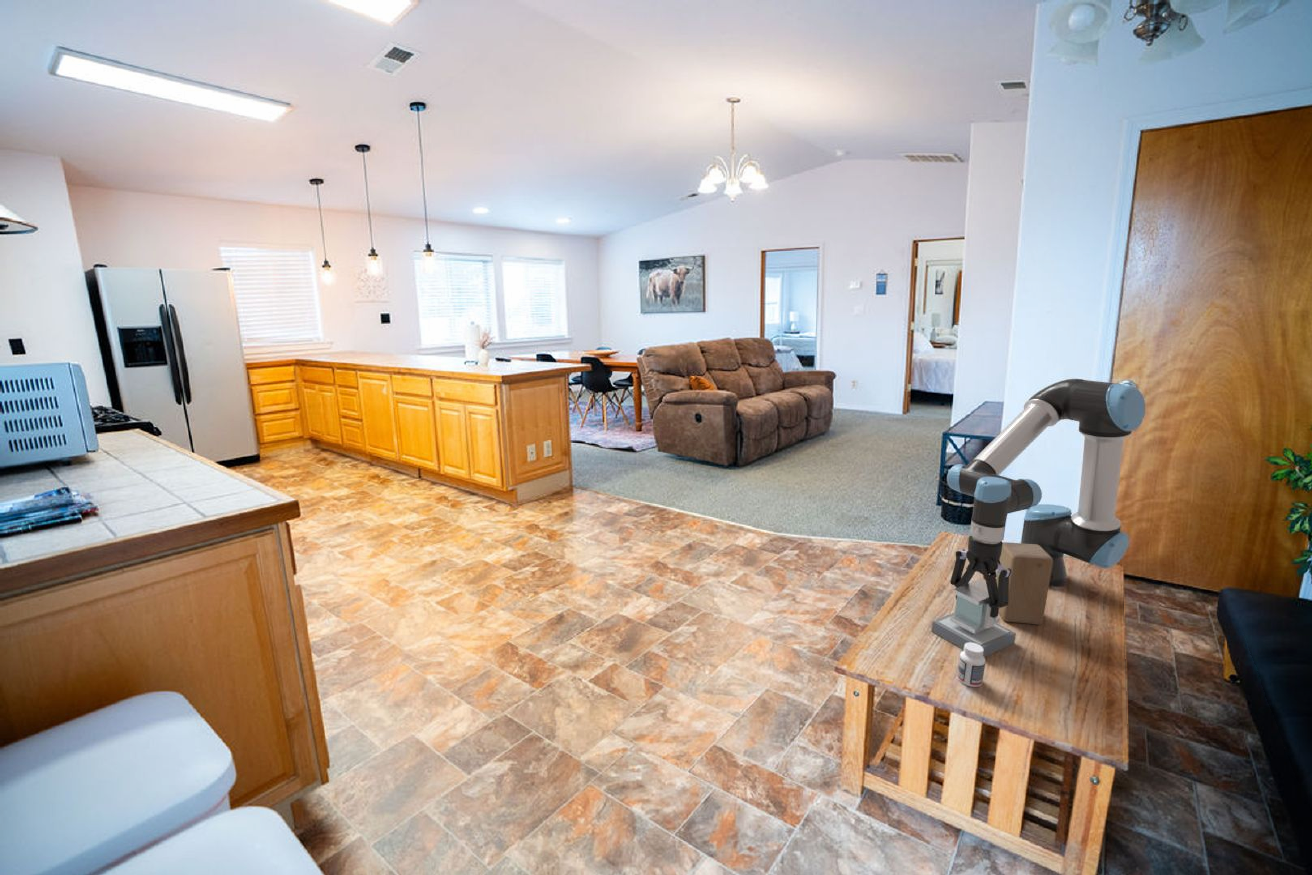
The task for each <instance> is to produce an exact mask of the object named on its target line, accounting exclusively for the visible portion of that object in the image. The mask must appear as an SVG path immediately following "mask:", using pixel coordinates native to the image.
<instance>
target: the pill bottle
mask: <svg viewBox="0 0 1312 875" xmlns="http://www.w3.org/2000/svg"><path fill="white" fill-rule="evenodd" d="M983 651H984V649H983V647H982V646H980V645H978V644H976V643H971V642H969V643H965V645H964V650H963V651H961V652H960V654H959V662H958V669H957V679H958V681H959V682H960V683H961V684H963V685H965V686H968V687H971V688H978V687H980V686H982V685H983V682H984V677H985V676H984V675H985V667H986V658H985V657H983Z"/></svg>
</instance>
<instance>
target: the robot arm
mask: <svg viewBox="0 0 1312 875" xmlns="http://www.w3.org/2000/svg"><path fill="white" fill-rule="evenodd" d="M1145 413H1146V400H1145V397H1144V396H1143V393H1142V392H1141V391H1140V389H1138V388H1137V387H1135V386H1132V385H1126V384H1123V383H1118V382H1117V383H1114V382H1106V381H1098V380H1096V381H1095V380H1089V379H1088V380H1087V379H1082V378H1081V379H1080V378H1070V379H1063V380H1060V381H1057V382H1055V383H1052V384H1050V385H1048V386H1046V387H1044V388H1043V389H1041V390H1039V391H1038V392H1036V393H1034V394H1033V395H1032V396H1031V397H1030V398H1029V399H1028V400H1027V401H1026V402H1025V403H1024V404H1023V410H1022V411H1021V412H1020V413H1019V414H1018V415H1017V416H1016V417H1014V419H1013V420H1012V421H1011V422H1010V423H1009V424H1008V425H1007V426H1006V427H1005V428H1004V429H1003V430H1001V432H999V434H998V435H997V436H996V437H995V438H993V439H992V440H991V442H990V443H988V445H986V446H985V447H984V449H982V450H981V452H979V454H977V455H976V457H974V458H973V460H971V461H970V462H969V463H968V464H967V465H966V464H960V463H958V464H957V463H956V464H955V465H953V466H952V467H951V468H950V469H949V471H948V473H947V476H946V483H947V485H948V487H949V488H950V489H952V490H954V491H956V492H958V493H961V495H962V494H963V495H967V496H969V497H970V496H971V497H974V499H973V507H972V516H971V523H970V530H969V536H968V543H967V544H968V545H967V551H966V550H965V549H959V550H957V551H955V562H954V567H953V570H952V575H951V577H950V581H949V582H950V585H952V586H955V588H958V587H961V586H963V585H966V584H968V583H970V582H971V580H972V578H973V577H974V575H975V574H976V573H979V574H981V575H982V577H983V580H985V583H986V585H987V590H988V594H989V599H990V604H987V609H986V616H985V623H984V628H986V629H987V628H990V627H992V626H993V624H994V618H995V617H997V618H998V616H999V613H998V612H999V607H1000V608H1002V607H1004V606H1007V605H1008V600H1009V576H1010V574H1011V572H1012V571H1011V569H1010V568H1008V569H1006V568H1004V567H1003V566H1001V563H1000V556H1001V552H1002V546H1003V541H1004V540H1005V539H1004V538H1005V531H1006V524H1007V518H1008V514H1012V513H1016V512H1020V511H1025V510H1026V511H1025V513H1024V514H1025V515H1024V518H1023V524H1022V532H1021V540H1020V543H1023V544H1037V545H1039V546H1041V547H1042V548H1043V549H1044V550H1045V551H1046V552H1047V553H1048V554H1049V555H1050V556H1051V557H1052V559H1053V565H1052V571H1051V576H1050V582H1049V587H1058V586H1064V585H1065V583H1066V582H1067V578H1068V572H1067V569H1066V564H1065V560H1064V555H1066V556H1069V557H1071V558H1074V559H1077V560H1079V561H1081V562H1084V563H1086V564H1089V565H1091V566H1096V567H1098V568H1102V569H1110V568H1112V567H1114V566H1115V565H1117V564H1118V563H1119V562H1120V561H1121V560H1122V558H1123V557H1124V556H1125V554H1126V553H1127V552H1126V551H1127V550H1128V548H1129V545H1130V536H1129V535H1128V533H1126V532H1125V531H1121V527H1122V526H1121V525H1122V522H1121V520H1120V519H1119V518H1117V517H1116V511H1117V501H1118V494H1119V492H1118V491H1119V484H1120V475H1121V466H1122V458H1123V457H1122V455H1123V447H1124V440H1125V439H1127V438H1128V437H1129V436H1131V435H1132V432H1133V431H1136V430H1137V429H1138V428H1139V427H1140V426H1141V425H1142V423H1143V419H1144V418H1145V415H1146V414H1145ZM1061 420H1063V421H1064V420H1068V421H1069V420H1070V421H1073V422H1078V423H1079V424H1078V432H1079V433H1080V434H1081V435H1083V436H1084V439H1083V440H1084V442H1083V451H1082V452H1083V454H1082V462H1081V463H1082V465H1081V474H1080V475H1081V476H1080V488H1079V497H1078V498H1079V499H1078V507H1077V508H1078V511H1077V512H1075V513H1073V512H1072V509H1071V508H1069V507H1066V506H1063V505H1060V504H1059V505H1058V504H1051V503H1049V504H1046V503H1043V504H1041V503H1040V502H1041V500H1042V498H1043V494H1042V493H1043V492H1042V489H1041V487H1040V485H1039V484H1038V483H1037V482H1036V481H1034V480H1032V479H1029V478H1019V479H1013V478H1009V477H1007V476H1004V475H1003V476H1002V475H1001V474H1002V473H1003V472H1004V471H1005V470H1006V469H1007V468H1008V467H1009V466H1010V465H1011V464H1012V463H1013V462H1014V461H1015V460H1016V459H1017V458H1018V457H1019V456H1020V455H1021V454H1022V453H1023V452H1024V451H1025V450H1026V449H1027V448H1028V447H1029V446H1030V445H1031V444H1032V443H1033V442H1034V441H1035V440H1036V439H1037V438H1038V437H1039V436H1040V435H1041V434H1042V433H1043V432H1044V431H1045V430H1046V429H1047V428H1048V427H1053V426H1055V425H1056V424H1058V422H1060V421H1061ZM1072 513H1073V514H1072ZM967 560H968V565H967V567H966V568H965V566H966V561H967ZM964 568H965V571H964ZM997 571H998V575H999V578H998V586H997V581H996V577H997ZM955 600H956V601H957V595H955Z"/></svg>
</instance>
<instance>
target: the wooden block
mask: <svg viewBox="0 0 1312 875" xmlns="http://www.w3.org/2000/svg"><path fill="white" fill-rule="evenodd" d="M1002 542H1003V541H1002ZM1000 563H1001V566H1003V567H1004V568H1006V569H1008V568H1010V569H1011V571H1012V572H1011V574H1010V576H1009V600H1008V605H1007V606H1004V607H1002V608H1000V607H999V612H998V615H999V616H1000V617H1001V618H1002V621H1005V622H1007V623H1009V622H1010V623H1019V624H1030V625H1042V624H1043V622H1044V615H1045V611H1046V604H1047V598H1048V593H1049V587H1050V586H1049V582H1050V576H1051V571H1052V565H1053V559H1052V557H1051V556H1050V555H1049V554H1048V553H1047V552H1046V551H1045V550H1044V549H1043V548H1042V547H1041V546H1039V545H1037V544H1023V543H1021V542H1019V543H1018V542H1009V541H1007V542H1005V541H1004V542H1003V546H1002V552H1001V556H1000ZM996 575H997V577H996V581H997V586H998V578H999V575H998V570H996Z"/></svg>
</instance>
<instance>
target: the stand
mask: <svg viewBox="0 0 1312 875" xmlns="http://www.w3.org/2000/svg"><path fill="white" fill-rule="evenodd" d="M953 615H955V612H952V613H949V614H947V615H945V616H943V617H940V618H937V619H935V620H933V621H932V622H931V629H930V630H931V631H930V632H932V633H934V634H935V635H938V636H939V637H941V638H942V639H944V640H946V641H947V642H949V643H951V644H953V645H954V646H956V647H958V648H960V649H962V650H963V651H964V645H965V643H969V642H971V643H976V644H978V645H980V646H982V647H983V649H984V651H983V657H984V658H985V657H987V656H990V655H992V654H994V653H997V652H999V651H1001V650H1004V649H1005V648H1007V647H1009V646H1012V645H1014V644H1015V641H1016V634H1017V633H1016V632H1015V631H1013V630H1010V629H1009V628H1007V627H1005V626H1003V625H1001V624H999V623H997V624H995V625H993V626H992V627H990V628H987V629H984V630H982V631H980V632H978V633H976V634H974V633H972V632H970V631H968V630H966V629H964V628H963V627H961V626H959V625H957V624H955V623H953V622H951V621H950V617H951V616H953Z"/></svg>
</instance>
